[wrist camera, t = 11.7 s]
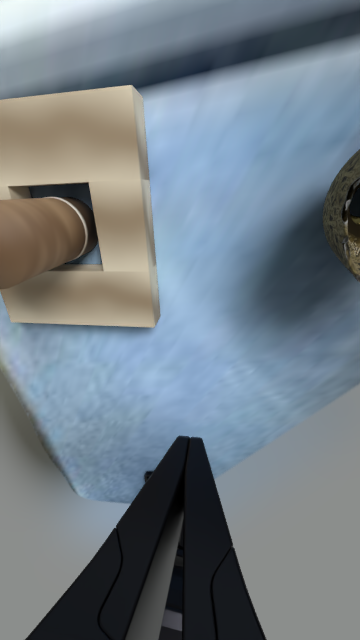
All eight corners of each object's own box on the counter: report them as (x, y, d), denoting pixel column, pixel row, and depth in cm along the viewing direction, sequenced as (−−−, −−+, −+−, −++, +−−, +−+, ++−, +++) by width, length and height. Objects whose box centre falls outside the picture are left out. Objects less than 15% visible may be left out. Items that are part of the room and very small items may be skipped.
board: (160, 316, 21) (154, 327, 20) (27, 312, 23) (11, 322, 21) (142, 97, 15) (131, 84, 13) (-36, 115, 17) (-66, 107, 15)
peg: (104, 255, 20) (36, 291, 13) (54, 255, 20) (-36, 289, 13) (94, 194, 18) (9, 197, 11) (40, 197, 19) (-73, 201, 12)
